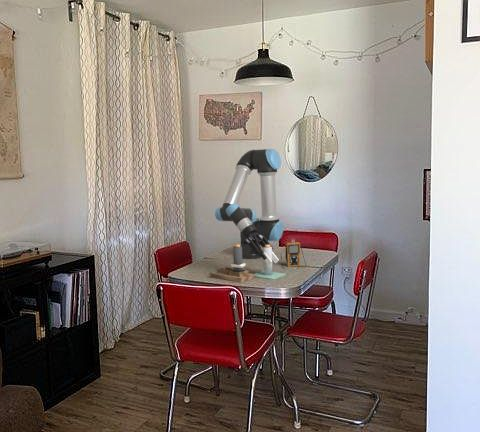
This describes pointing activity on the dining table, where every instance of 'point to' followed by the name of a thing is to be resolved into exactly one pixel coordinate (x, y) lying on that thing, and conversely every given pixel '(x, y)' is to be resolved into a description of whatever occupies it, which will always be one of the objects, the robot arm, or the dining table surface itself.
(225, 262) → the dining table surface
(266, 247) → the white tall cylinder
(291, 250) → the multimeter
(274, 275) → the green pad
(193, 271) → the dining table surface
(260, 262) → the dining table surface
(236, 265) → the grey flanged cylinder
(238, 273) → the clamp board
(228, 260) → the dining table surface
